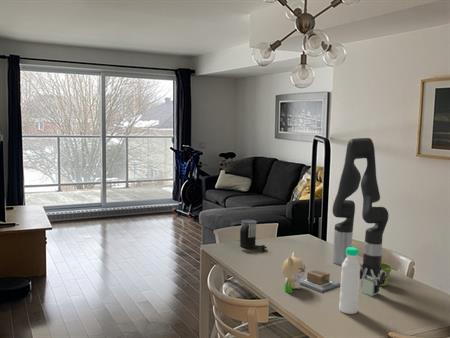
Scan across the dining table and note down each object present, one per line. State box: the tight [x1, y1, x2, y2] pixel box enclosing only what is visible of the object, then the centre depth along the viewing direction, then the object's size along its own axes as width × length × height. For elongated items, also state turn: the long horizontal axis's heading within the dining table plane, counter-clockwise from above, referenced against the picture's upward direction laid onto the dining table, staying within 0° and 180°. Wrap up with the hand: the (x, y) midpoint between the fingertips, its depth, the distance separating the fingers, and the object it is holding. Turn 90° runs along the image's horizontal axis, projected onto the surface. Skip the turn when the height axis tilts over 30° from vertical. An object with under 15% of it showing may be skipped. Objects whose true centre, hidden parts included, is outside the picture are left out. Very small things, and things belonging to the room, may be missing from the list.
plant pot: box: [375, 262, 393, 287], centre depth 205 cm, size 9×9×9 cm
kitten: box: [281, 251, 306, 294], centre depth 196 cm, size 15×10×15 cm
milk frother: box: [239, 219, 267, 251], centre depth 257 cm, size 14×16×15 cm
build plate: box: [299, 276, 341, 293], centre depth 202 cm, size 14×14×1 cm
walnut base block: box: [306, 269, 330, 286], centre depth 202 cm, size 7×7×4 cm
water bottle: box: [338, 246, 361, 315], centre depth 173 cm, size 7×7×25 cm
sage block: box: [361, 276, 379, 297], centre depth 194 cm, size 5×5×6 cm
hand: (369, 290), depth 194 cm, fingers closed on sage block, 5 cm apart
